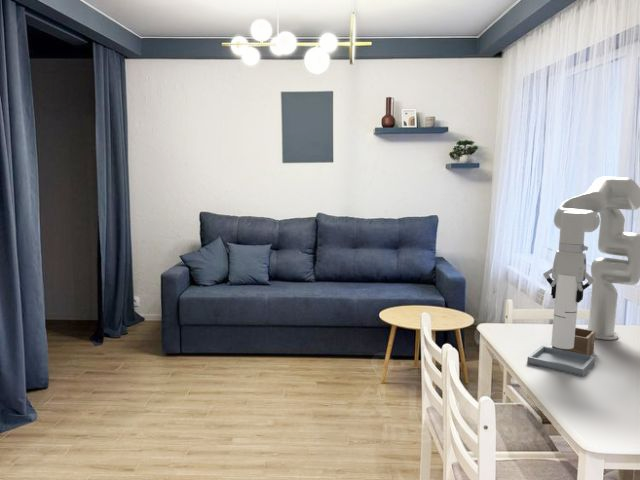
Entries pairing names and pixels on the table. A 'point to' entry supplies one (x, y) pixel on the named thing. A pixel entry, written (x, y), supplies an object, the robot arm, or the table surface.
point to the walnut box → (582, 342)
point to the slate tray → (561, 360)
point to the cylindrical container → (565, 312)
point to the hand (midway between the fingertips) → (566, 299)
